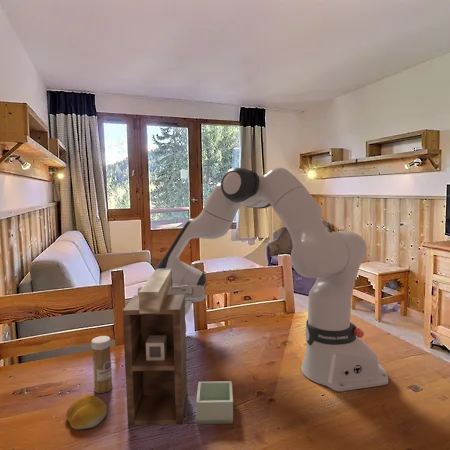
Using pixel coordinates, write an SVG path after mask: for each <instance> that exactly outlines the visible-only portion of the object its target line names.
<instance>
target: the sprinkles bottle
mask: <svg viewBox="0 0 450 450" xmlns="http://www.w3.org/2000/svg"><path fill="white" fill-rule="evenodd" d="M90 343H91V350H92V369H93V371H92V372H93V380H94V382H93V383H94V385H93V386H94V388H93V389H94V392H95V393H98V394H105V393H107V392H109V391H110V390H112V389H113V381H112V380H113V379H112V377H113V376H112V375H113V374H112V373H113V372H112V359H111V344H112V343H111V338H110V337H109V336H108V335H99V336H97V337H93V339H91V342H90Z"/></svg>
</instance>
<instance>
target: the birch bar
mask: <svg viewBox="0 0 450 450" xmlns="http://www.w3.org/2000/svg"><path fill="white" fill-rule="evenodd" d="M172 285H173V283H172V268H168V269H155V270H154V272H153V273H152V274H151V276H150V277H149V278H148V279H147V280H146V282H145V283H144V285H143V286H141V287H142V288H141V290H140V291H139V314H143V313H159V312H160V310H161V308H162V306H163V304H164V302H165V300H166V298H167V296H168V294H169V292H170V290H171V287H172Z"/></svg>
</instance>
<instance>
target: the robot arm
mask: <svg viewBox="0 0 450 450" xmlns="http://www.w3.org/2000/svg"><path fill="white" fill-rule="evenodd" d="M242 207H247V208H253V209H266V208H270V207H272V209H273V210H274V212H275V213H276V215H277V216H278V217H279V220H280V221H281V222H282V224H283V225H284V227H285V228H286V229H287V231H288V233H289V236H290V239H291V242H292V248H291V252H290V262H291V265H292V268H293V269H294V271H295V272H296V273H297V274H298V275H300V276H301V277H303V278H310V279H316V280H315V282H314V284H313V285H312V287H311V289H310V290H309V292H308V296H307V297H308V300H307V304H308V306H307V319H306V322H305V324H306V326H305V341H306V346H305V352H304V357H303V359H302V364H301V367H300V369H301V370H300V371H301V373H302V374H303V376H305V377H306V379H308V380H309V381H310V380H311V381H312V382H314V383H316V384H319V385H322V386H325V387H328V388H329V389H331V390H333V391H335V392H347V391H352V390H359V389H366V388H372V387H380V386H386V385H388V384H389V376H388V374H387V371H386V370H385V369H384V367H383V366H382V365H381V364H380V363H379V359H378V356H377V355H376V353H375V351H374V350H373V349H372V348H371V346H370V345H368V344H367V343H365V342H364V341H363V340H361V339H362V338H363V337H364V335H365V333H364V331H363V330H362V329H361V328H359V327H357V325H356V324H354V323H352V322H351V314H352V313H351V309H352V297H353V290H354V288H355V284H356V280H357V276H358V273H359V270H360V267H361V265H362V263H363V261H364V260H365V258H366V256H367V252H368V247H367V244H366V241H365V240H364V239H363V237H362V236H361V235H359V234H358V233H357V232H356V233H355V232H353V231H349V230H337V231H331V232H330V231H328V230H327V228H326V227H325V225H324V223H323V220H322V214H323V209H322V207H321V206H320V204H319V203H318V202H317V201H316V199H315V198H314V197H313V196H312V194H311V193H310V192H309V189H307V188H306V187H305V186H304V185H303V183H302V182H301V180H299V179H298V178H297V176H295V175H294V174H293V173H292V172H290V171H289V170H288V169H287V168H285V167H275V168H272V169H270V170H269V171H268V172H267V173H266V174H264V175H263V174H260V173H259V172H256V171H254V170H250V169H248V168H245V167H244V168H243V167H233V168H230V169H229V170H227V171H226V172H225V173H224V175H223V176H222V179H221V182H219V183H217V184H216V185H215V186H214V188H213V189H212V190H211V192H210V193H209V196H208V198H207V199H206V201H205V204H204V206H203V208H202V209H201V210H202V211H201V212H200V213H199V214H198V215H197V216H196V217H195V218H190V219H188V221H186V223H185V224H184V225H183V226H182V228H181V229H180V231H179V232H178V234H177V236H176V237H175V239H174V240H173V242H172V244H171V246H170V247H169V248H168V250H167V251H166V253H165V254H164V256H163V257H162V259H161V260H160V261H159V262H158V264H157V266H156V269H168V268H172V283H173V285H172V287H171V290H170V292H169V294H168V295H185V316H187V315H188V314H189V312H190V311H191V308H192V305H193V304H195V303H196V302H198V303H199V302H202V301H204V300H205V298H207V293H205V290H206V286H207V277H206V274H205V272H204V271H201V270H200V269H198V268H196V267H194V266H192V265H190V264H188V263H186V262H184V261H182V260H180V256H181V254H182V252H183V251H184V249H185V248H186V246H187V245H188V243H189V242H190V241H191V240H192V239H202V240H203V239H205V240H215V239H219V238H222V237H224V236H225V235H227V234H228V231H229V230H230V228H231V227H232V225H233V221H234V220H235V218H236V214H237V212H238V211H239V210H240V208H242ZM156 269H155V270H156ZM142 287H143V286H141V287H138V289H137V295H139V291H140V290H141V288H142Z"/></svg>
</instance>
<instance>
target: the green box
mask: <svg viewBox="0 0 450 450" xmlns="http://www.w3.org/2000/svg"><path fill="white" fill-rule="evenodd" d="M232 382H233V381H231V380H225V381H224V380H223V381H222V380H219V381H217V380H215V381H198V383H197V384H198V385H197V392H196V401H195V402H196V403H195V409H196V410H195V411H196V413H195V414H196V425H203V424H204V425H206V424H207V425H209V424H212V425H213V424H234V397H233V395H234V394H233V383H232Z"/></svg>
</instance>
